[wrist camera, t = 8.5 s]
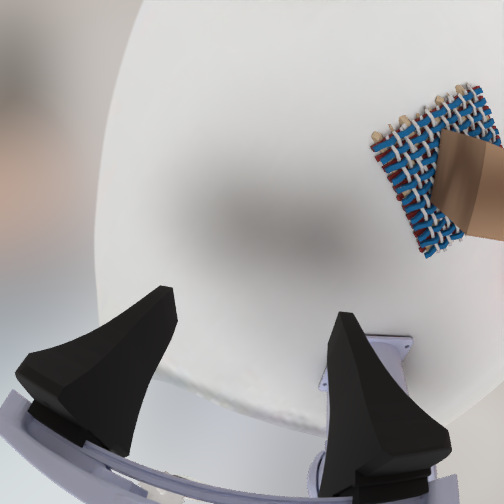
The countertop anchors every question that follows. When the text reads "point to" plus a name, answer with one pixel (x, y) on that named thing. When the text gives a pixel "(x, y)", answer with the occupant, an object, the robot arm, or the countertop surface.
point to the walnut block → (470, 184)
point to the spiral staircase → (162, 494)
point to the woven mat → (431, 161)
